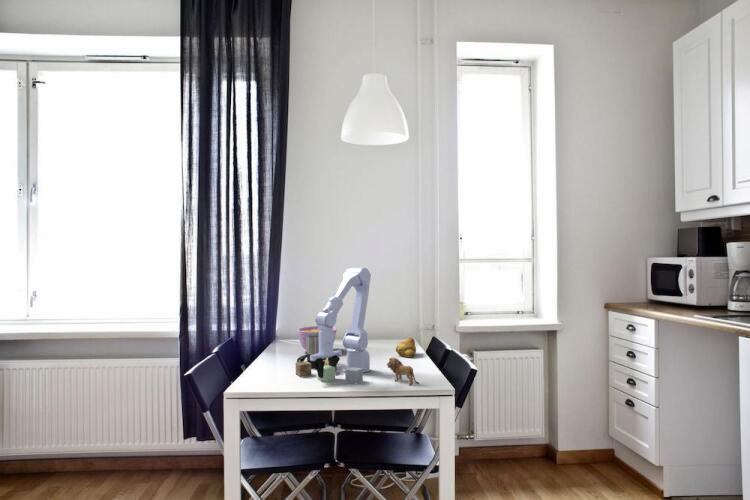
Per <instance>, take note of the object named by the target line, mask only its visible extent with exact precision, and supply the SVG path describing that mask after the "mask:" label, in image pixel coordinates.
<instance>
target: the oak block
mask: <svg viewBox="0 0 750 500" xmlns="http://www.w3.org/2000/svg"><path fill="white" fill-rule="evenodd" d="M323 361H325V363H324V366H326V365H328V366H329V362H328V358H326V360H323ZM336 373H338V365H337V366H336V369H335V374H336Z"/></svg>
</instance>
